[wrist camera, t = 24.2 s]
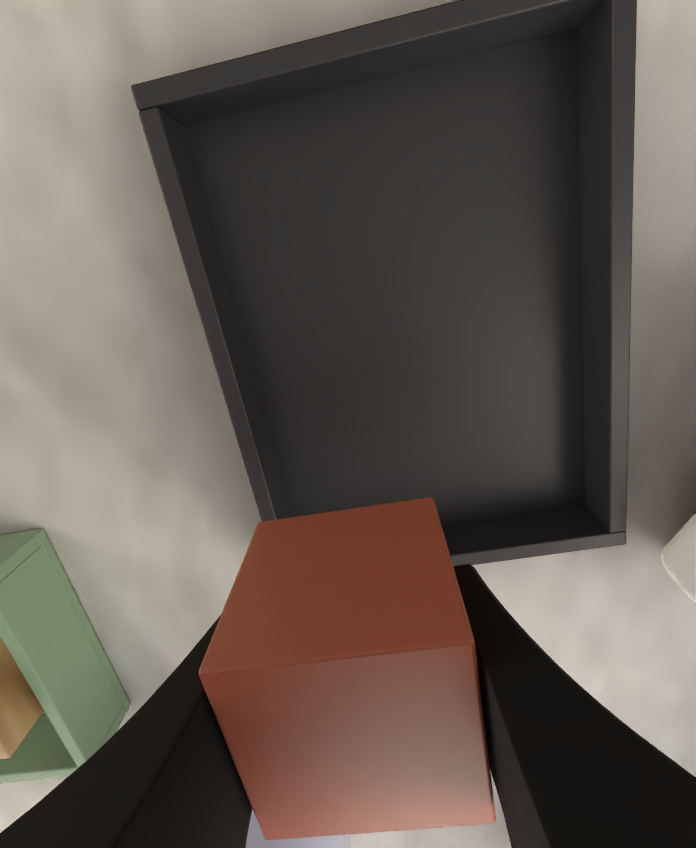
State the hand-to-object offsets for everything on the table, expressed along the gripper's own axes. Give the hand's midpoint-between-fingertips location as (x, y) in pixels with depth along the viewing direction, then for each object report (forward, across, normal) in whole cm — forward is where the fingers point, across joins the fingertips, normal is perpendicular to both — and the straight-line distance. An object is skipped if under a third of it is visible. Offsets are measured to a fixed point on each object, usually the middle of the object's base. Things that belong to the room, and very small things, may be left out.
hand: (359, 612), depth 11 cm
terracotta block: (+1, 0, 0) cm, 1 cm away
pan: (+8, -3, -5) cm, 10 cm away
